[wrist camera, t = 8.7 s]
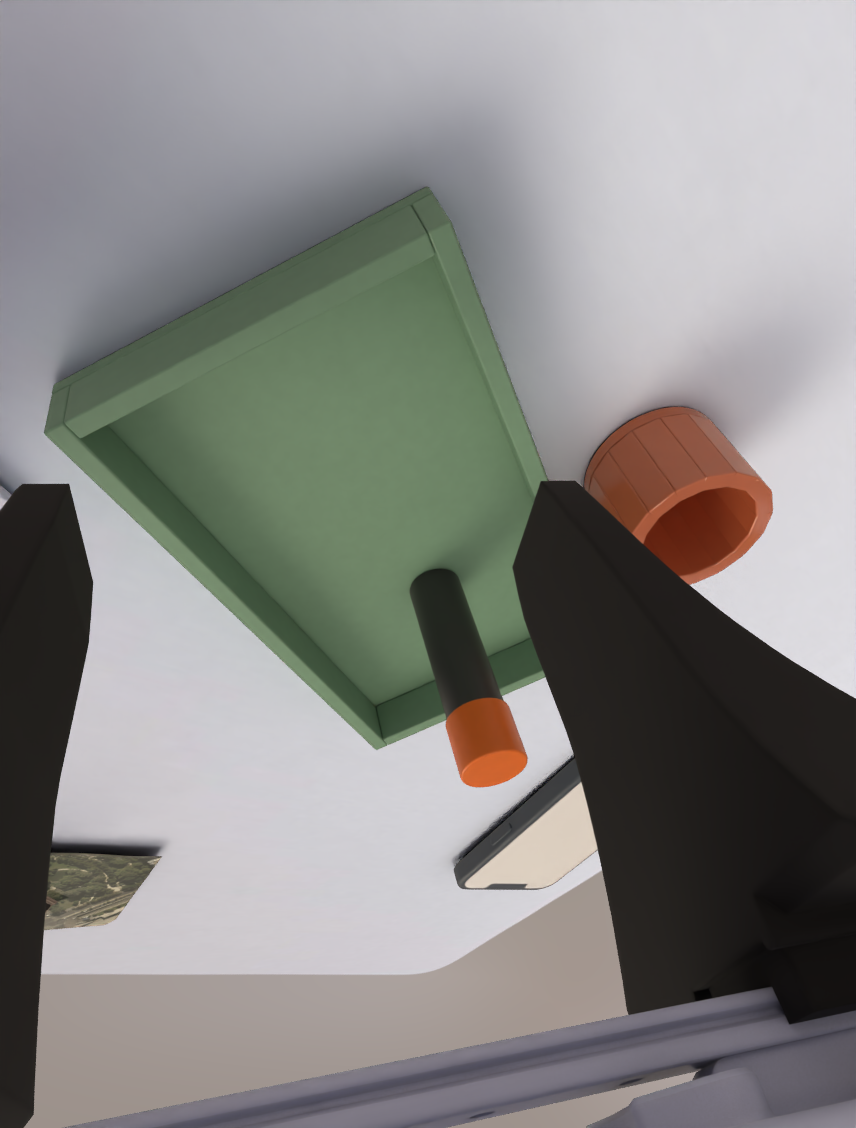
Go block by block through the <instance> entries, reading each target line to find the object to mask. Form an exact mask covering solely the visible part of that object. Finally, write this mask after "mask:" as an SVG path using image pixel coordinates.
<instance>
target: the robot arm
mask: <svg viewBox="0 0 856 1128" xmlns="http://www.w3.org/2000/svg"><path fill="white" fill-rule="evenodd" d="M512 568H513V573H514V578H515V582H516V587H517V592H518V597H519V601H520V605H521V609H522V613H523V617H524V621H525V623H526V626H527V629H528V632H529V634H530V637H531V640H532V642H533V645H534V648H535V650H536V653H537V656H538V659H539V661H540V664H541V666H542V669H543V672H544V674H545V677H546V679H547V682H548V685H549V687H550V690H551V692H552V695H553V698H554V700H555V703H556V705H557V708H558V711H559V713H560V716H561V718H562V721H563V724H564V726H565V729H566V732H567V735H568V738H569V741H570V744H571V747H572V750H573V753H574V756H575V760H576V764H577V768H578V772H579V775H580V779H581V783H582V787H583V791H584V794H585V798H586V802H587V806H588V810H589V814H590V819H591V823H592V827H593V831H594V836H595V840H596V844H597V848H598V853H599V857H600V862H601V867H602V871H603V876H604V881H605V886H606V891H607V896H608V901H609V906H610V911H611V915H612V921H613V927H614V933H615V939H616V944H617V950H618V956H619V962H620V967H621V973H622V980H623V986H624V993H625V999H626V1007H627V1011H628V1014H629V1015H626V1016H622V1017H616V1018H611V1019H606V1020H602V1021H596V1022H592V1023H586V1024H581V1025H576V1026H571V1027H566V1028H561V1029H556V1030H551V1031H546V1032H541V1033H536V1034H531V1035H526V1036H522V1037H516V1038H511V1039H506V1040H501V1041H496V1042H491V1043H486V1044H481V1045H476V1046H471V1047H466V1048H461V1049H456V1050H451V1051H446V1052H441V1053H436V1054H430V1055H426V1056H420V1057H415V1058H410V1059H406V1060H401V1061H395V1062H390V1063H385V1064H380V1065H375V1066H370V1067H365V1068H360V1069H355V1070H350V1071H345V1072H340V1073H335V1074H330V1075H325V1076H320V1077H315V1078H310V1079H305V1080H300V1081H295V1082H290V1083H285V1084H280V1085H275V1086H270V1087H265V1088H260V1089H255V1090H250V1091H245V1092H240V1093H235V1094H230V1095H225V1096H219V1097H215V1098H210V1099H204V1100H199V1101H194V1102H189V1103H184V1104H180V1105H175V1106H169V1107H164V1108H159V1109H154V1110H150V1111H144V1112H139V1113H134V1114H129V1115H124V1116H119V1117H114V1118H109V1119H104V1120H99V1121H94V1122H89V1123H84V1124H79V1125H74V1126H69V1127H64V1128H446V1127H451V1126H455V1125H460V1124H464V1123H469V1122H473V1121H477V1120H482V1119H486V1118H491V1117H495V1116H500V1115H504V1114H509V1113H513V1112H517V1111H522V1110H526V1109H531V1108H535V1107H540V1106H544V1105H549V1104H553V1103H558V1102H562V1101H567V1100H571V1099H576V1098H580V1097H584V1096H589V1095H593V1094H597V1093H602V1092H606V1091H611V1090H616V1089H619V1088H624V1087H629V1086H633V1085H638V1084H642V1083H646V1082H651V1081H656V1080H660V1079H664V1078H669V1077H673V1076H678V1075H682V1074H686V1073H691V1072H695V1071H698V1072H696V1074H695V1076H694V1078H693V1080H692V1081H690V1082H686V1083H683V1084H680V1085H677V1086H673V1087H670V1088H666V1089H663V1090H660V1091H657V1092H653V1093H650V1094H647V1095H644V1096H641V1097H637V1098H634V1099H633V1100H632V1102H631V1103H630V1104H629V1106H628V1107H626V1108H624V1109H622V1110H620V1111H619V1112H617V1113H615V1114H613V1115H611V1116H609V1117H607V1118H605V1119H602V1120H600V1121H597V1122H595V1123H593V1124H590V1125H588V1126H587V1127H586V1128H856V699H855V698H854V697H852V696H850V695H848V694H847V693H845V692H843V691H841V690H839V689H838V688H836V687H834V686H832V685H831V684H829V683H827V682H826V681H824V680H822V679H821V678H819V677H818V676H816V675H814V674H813V673H811V672H809V671H808V670H806V669H804V668H803V667H801V666H800V665H798V664H796V663H795V662H793V661H791V660H790V659H788V658H787V657H785V656H784V655H782V654H781V653H779V652H778V651H776V650H775V649H773V648H772V647H770V646H769V645H767V644H766V643H765V642H763V641H762V640H760V639H759V638H758V637H756V636H755V635H753V634H752V633H750V632H749V631H748V630H746V629H745V628H743V627H742V626H741V625H739V624H738V623H736V622H735V621H734V620H732V619H731V618H730V617H728V616H727V615H726V614H724V613H723V612H722V611H721V610H719V609H718V608H717V607H715V606H714V605H713V604H712V603H711V602H709V601H708V600H707V599H706V598H704V597H703V596H702V595H701V594H700V593H698V592H697V591H696V590H695V589H693V588H692V587H691V586H690V585H689V584H687V583H686V582H685V581H684V580H683V579H682V578H680V577H679V576H678V575H677V574H676V573H675V572H673V571H672V570H671V569H670V568H669V567H668V566H667V565H666V564H664V563H663V562H662V561H661V560H660V559H659V558H658V557H657V556H656V555H654V554H653V553H652V552H651V551H650V550H649V549H648V548H647V547H646V546H645V545H644V544H642V543H641V542H640V541H639V540H638V539H637V538H636V537H635V536H634V535H633V534H632V533H631V532H630V531H629V530H628V529H626V528H625V527H624V526H623V525H622V524H621V523H620V522H619V521H618V520H617V519H616V518H615V517H614V516H613V515H612V514H611V513H610V512H609V511H608V510H606V509H605V508H604V507H603V506H602V505H601V504H600V503H599V502H598V501H597V500H596V499H595V498H594V497H593V496H592V495H590V494H589V493H588V492H587V491H586V490H585V489H584V488H583V487H581V486H580V485H579V484H578V483H577V482H576V481H541V482H540V485H539V488H538V491H537V494H536V497H535V500H534V503H533V506H532V509H531V512H530V515H529V518H528V521H527V524H526V527H525V530H524V533H523V536H522V539H521V542H520V545H519V548H518V551H517V554H516V557H515V560H514V563H513V566H512ZM92 592H93V580H92V576H91V572H90V567H89V563H88V559H87V555H86V551H85V547H84V543H83V539H82V535H81V531H80V527H79V523H78V519H77V514H76V510H75V506H74V502H73V498H72V494H71V490H70V486H69V484H22V485H21V486H20V487H18V488H17V489H16V490H15V491H14V493H13V494H12V495H11V494H10V493H9V492H8V491H7V490H5V489H4V488H3V487H2V486H1V485H0V1128H24V1126H25V1125H26V1124H27V1123H28V1121H29V1120H30V1119H31V1117H32V1116H33V1113H34V1086H35V1066H36V1047H37V1026H38V1007H39V1006H38V1005H39V992H40V977H41V963H42V948H43V934H44V922H45V910H46V899H47V887H48V875H49V864H50V855H51V845H52V835H53V825H54V815H55V806H56V800H57V794H58V788H59V782H60V776H61V771H62V767H63V762H64V757H65V753H66V748H67V743H68V739H69V734H70V729H71V725H72V720H73V715H74V711H75V706H76V701H77V697H78V692H79V687H80V683H81V678H82V673H83V668H84V663H85V659H86V654H87V648H88V643H89V632H90V620H91V607H92Z"/></svg>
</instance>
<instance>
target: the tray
mask: <svg viewBox="0 0 856 1128" xmlns="http://www.w3.org/2000/svg"><path fill="white" fill-rule="evenodd" d="M44 433H45V435H46V436H47V437H48V438H49V439H50V440H51V441H52V442H53V443H54V444H55V445H56V446H57V447H59V448H60V449H61V450H62V451H63V452H64V453H65V454H66V455H67V456H68V457H69V458H70V459H71V460H72V461H73V462H74V463H75V464H76V465H77V466H78V467H80V468H81V469H82V470H83V471H84V472H85V473H86V474H87V475H88V476H89V477H90V478H91V479H92V480H93V481H94V482H95V483H96V484H97V485H98V486H99V487H100V488H102V489H103V490H104V491H105V492H106V493H107V494H108V495H109V496H110V497H111V498H112V499H113V500H114V501H115V502H116V503H117V504H118V505H119V506H120V507H121V508H123V509H124V510H125V511H126V512H127V513H128V514H129V515H130V516H131V517H132V518H133V519H134V520H135V521H136V522H137V523H138V524H139V525H140V526H141V527H142V528H144V529H145V530H146V531H147V532H148V533H149V534H150V535H151V536H152V537H153V538H154V539H155V540H156V541H157V542H158V543H159V544H160V545H161V546H162V547H163V548H165V549H166V550H167V551H168V552H169V553H170V554H171V555H172V556H173V557H174V558H175V559H176V560H177V561H178V562H179V563H180V564H181V565H182V566H183V567H184V568H186V569H187V570H188V571H189V572H190V573H191V574H192V575H193V576H194V577H195V578H196V579H197V580H198V581H199V582H200V583H201V584H202V585H203V586H204V587H205V588H207V589H208V590H209V591H210V592H211V593H212V594H213V595H214V596H215V597H216V598H217V599H218V600H219V601H220V602H221V603H222V604H223V605H224V606H225V607H226V608H228V609H229V610H230V611H231V612H232V613H233V614H234V615H235V616H236V617H237V618H238V619H239V620H240V621H241V622H242V623H243V624H244V625H245V626H246V627H247V628H249V629H250V630H251V631H252V632H253V633H254V634H255V635H256V636H257V637H258V638H259V639H260V640H261V641H262V642H263V643H264V644H265V645H266V646H267V647H268V648H270V649H271V650H272V651H273V652H274V653H275V654H276V655H277V656H278V657H279V658H280V659H281V660H282V661H283V662H284V663H285V664H286V665H287V666H288V667H289V668H291V669H292V670H293V671H294V672H295V673H296V674H297V675H298V676H299V677H300V678H301V679H302V680H303V681H304V682H305V683H306V684H307V685H308V686H309V687H310V688H312V689H313V690H314V691H315V692H316V693H317V694H318V695H319V696H320V697H321V698H322V699H323V700H324V701H325V702H326V703H327V704H328V705H329V706H330V707H331V708H332V709H334V710H335V711H336V712H337V713H338V714H339V715H340V716H341V717H342V718H343V719H344V720H345V721H346V722H347V723H348V724H349V725H350V726H351V727H352V728H353V729H355V730H356V731H357V732H358V733H359V734H360V735H361V736H362V737H363V738H364V739H365V740H366V741H367V742H368V743H369V744H370V745H371V746H372V747H373V748H374V749H376V750H378V749H380V748H382V747H385V746H387V744H388V745H389V744H392V743H394V742H396V741H399V740H401V739H403V738H406V737H408V736H410V735H413V734H415V733H417V732H419V731H422V730H424V729H426V728H429V727H431V726H433V725H436V724H438V723H440V722H443V721H445V720H447V719H446V715H445V712H444V709H443V705H442V702H441V698H440V695H439V692H438V688H437V685H436V681H435V678H434V675H433V671H432V668H431V664H430V661H429V658H428V654H427V651H426V648H425V644H424V641H423V637H422V634H421V631H420V627H419V624H418V620H417V617H416V614H415V610H414V607H413V603H412V600H411V597H410V586H411V584H412V582H413V581H414V580H415V579H416V578H417V577H418V576H419V575H421V574H422V573H424V572H427V571H429V570H433V569H448V570H451V571H453V572H454V573H455V574H456V575H457V576H458V577H459V580H460V582H461V585H462V588H463V591H464V593H465V596H466V599H467V602H468V604H469V607H470V610H471V613H472V615H473V618H474V621H475V624H476V626H477V629H478V632H479V635H480V637H481V640H482V643H483V646H484V648H485V651H486V654H487V657H488V659H489V662H490V665H491V668H492V670H493V673H494V676H495V678H496V681H497V684H498V687H499V689H500V692H501V695H502V696H503V695H505V694H508V693H510V692H512V691H514V690H517V689H519V688H521V687H524V686H526V685H528V684H531V683H533V682H535V681H538V680H540V679H542V678H545V674H544V672H543V669H542V666H541V664H540V661H539V659H538V656H537V653H536V650H535V648H534V645H533V642H532V640H531V637H530V634H529V632H528V629H527V626H526V623H525V621H524V617H523V613H522V609H521V605H520V601H519V597H518V592H517V587H516V582H515V578H514V573H513V568H512V566H513V563H514V560H515V557H516V554H517V551H518V548H519V545H520V542H521V539H522V536H523V533H524V530H525V527H526V524H527V521H528V518H529V515H530V512H531V509H532V506H533V503H534V500H535V497H536V494H537V491H538V488H539V485H540V482H541V481H548V479H547V476H546V473H545V471H544V468H543V465H542V463H541V460H540V457H539V455H538V452H537V449H536V447H535V444H534V441H533V439H532V436H531V433H530V431H529V428H528V425H527V423H526V420H525V417H524V415H523V412H522V409H521V407H520V404H519V401H518V399H517V396H516V393H515V391H514V388H513V385H512V383H511V380H510V377H509V375H508V372H507V369H506V367H505V364H504V361H503V359H502V356H501V353H500V351H499V348H498V345H497V343H496V340H495V337H494V335H493V332H492V329H491V327H490V324H489V321H488V319H487V316H486V313H485V311H484V308H483V305H482V303H481V300H480V297H479V295H478V292H477V289H476V287H475V284H474V281H473V279H472V276H471V273H470V271H469V268H468V265H467V263H466V260H465V257H464V255H463V252H462V249H461V247H460V244H459V241H458V239H457V236H456V233H455V231H454V228H453V225H452V223H451V221H450V219H449V218H448V216H447V215H446V213H445V212H444V210H443V209H442V207H441V206H440V204H439V202H438V201H437V199H436V198H435V196H434V195H433V193H432V192H431V190H430V189H429V187H425V188H423V189H421V190H419V191H417V192H416V193H414V194H412V195H410V196H408V197H406V198H404V199H402V200H400V201H399V202H397V203H395V204H393V205H391V206H389V207H387V208H385V209H384V210H382V211H380V212H378V213H376V214H374V215H372V216H370V217H369V218H367V219H365V220H363V221H361V222H359V223H357V224H355V225H353V226H352V227H350V228H348V229H346V230H344V231H342V232H340V233H338V234H337V235H335V236H333V237H331V238H329V239H327V240H325V241H323V242H321V243H320V244H318V245H316V246H314V247H312V248H310V249H308V250H306V251H305V252H303V253H301V254H299V255H297V256H295V257H293V258H291V259H289V260H288V261H286V262H284V263H282V264H280V265H278V266H276V267H274V268H273V269H271V270H269V271H267V272H265V273H263V274H261V275H259V276H257V277H256V278H254V279H252V280H250V281H248V282H246V283H244V284H242V285H241V286H239V287H237V288H235V289H233V290H231V291H229V292H227V293H225V294H224V295H222V296H220V297H218V298H216V299H214V300H212V301H210V302H209V303H207V304H205V305H203V306H201V307H199V308H197V309H195V310H193V311H192V312H190V313H188V314H186V315H184V316H182V317H180V318H178V319H177V320H175V321H173V322H171V323H169V324H167V325H165V326H163V327H161V328H160V329H158V330H156V331H154V332H152V333H150V334H148V335H146V336H145V337H143V338H141V339H139V340H137V341H135V342H133V343H131V344H129V345H128V346H126V347H124V348H122V349H120V350H118V351H116V352H114V353H113V354H111V355H109V356H107V357H105V358H103V359H101V360H99V361H97V362H96V363H94V364H92V365H90V366H88V367H86V368H84V369H82V370H81V371H79V372H77V373H75V374H73V375H71V376H69V377H67V378H65V379H64V380H62V381H60V382H58V383H56V384H54V386H53V391H52V397H51V401H50V406H49V411H48V416H47V420H46V425H45V430H44Z"/></svg>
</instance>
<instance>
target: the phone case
mask: <svg viewBox="0 0 856 1128" xmlns="http://www.w3.org/2000/svg"><path fill="white" fill-rule="evenodd" d="M597 850H598V848H597V844H596V840H595V836H594V831H593V827H592V823H591V819H590V814H589V810H588V806H587V802H586V798H585V794H584V791H583V787H582V783H581V779H580V775H579V772H578V768H577V764H576V760H575V758H574V759H573V760H572V761H571V762H570V763H568V764H567V765H566V766H565V767H564V768H563V769H562V770H561V771H560V772H558V773H557V774H556V775H555V776H554V777H553V778H552V779H551V780H550V781H548V782H547V783H546V784H545V785H544V786H543V787H542V788H541V789H540V790H538V791H537V792H536V793H535V794H534V795H533V796H532V797H531V798H530V799H528V800H527V801H526V802H525V803H524V804H523V805H522V806H521V807H520V808H518V809H517V810H516V811H515V812H514V813H513V814H512V815H511V816H509V817H508V818H507V819H506V820H505V821H504V822H503V823H502V824H501V825H499V826H498V827H497V828H496V829H495V830H494V831H493V832H492V833H491V834H489V835H488V836H487V837H486V838H485V839H484V840H483V841H482V842H481V843H479V844H478V845H477V846H476V847H475V848H474V849H473V850H472V851H471V852H469V853H468V854H467V855H466V856H465V857H464V858H463V859H462V860H460V861H459V862H458V863H457V864H456V866H455V868H454V873H455V877H456V880H457V884H458V886H459V887H460V888H462V889H493V890H537V889H543V888H546V887H548V886H551V885H553V884H554V883H556V882H557V881H558V880H560V879H561V878H562V877H564V876H565V875H566V874H567V873H569V872H570V871H571V870H573V869H574V868H575V867H576V866H578V865H579V864H580V863H582V862H583V861H584V860H585V859H587V858H588V857H589V856H591V855H592V854H593V853H594V852H596V851H597Z"/></svg>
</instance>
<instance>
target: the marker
mask: <svg viewBox="0 0 856 1128" xmlns="http://www.w3.org/2000/svg"><path fill="white" fill-rule="evenodd" d="M410 597H411V600H412V603H413V607H414V610H415V614H416V617H417V620H418V624H419V627H420V631H421V634H422V637H423V641H424V644H425V648H426V651H427V654H428V658H429V661H430V664H431V668H432V671H433V675H434V678H435V681H436V685H437V688H438V692H439V695H440V698H441V702H442V705H443V709H444V712H445V715H446V719H447V721H446V730H447V733H448V736H449V740H450V743H451V747H452V750H453V754H454V757H455V760H456V764H457V767H458V771H459V774H460V778H461V780H462V781H463V782H464V783H465V784H466V785H469V786H472V787H488V786H493V785H497V784H500V783H503V782H505V781H508V780H510V779H512V778H513V777H515V776H516V775H518V774H519V773H520V772H521V771H522V770H523V769H524V768H525V766H526V764H527V754H526V752H525V749H524V746H523V743H522V741H521V738H520V735H519V733H518V730H517V727H516V724H515V722H514V719H513V716H512V714H511V711H510V708H509V706H508V705H507V703H506V702H504V700H503V698H502V695H501V692H500V689H499V687H498V684H497V681H496V678H495V676H494V673H493V670H492V668H491V665H490V662H489V659H488V657H487V654H486V651H485V648H484V646H483V643H482V640H481V637H480V635H479V632H478V629H477V626H476V624H475V621H474V618H473V615H472V613H471V610H470V607H469V604H468V602H467V599H466V596H465V593H464V591H463V588H462V585H461V582H460V580H459V577H458V576H457V575H456V574H455V573H454V572H453V571H451V570H448V569H433V570H429V571H427V572H424V573H422V574H421V575H419V576H418V577H417V578H416V579H415V580H414V581H413V582H412V584H411V586H410Z"/></svg>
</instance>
